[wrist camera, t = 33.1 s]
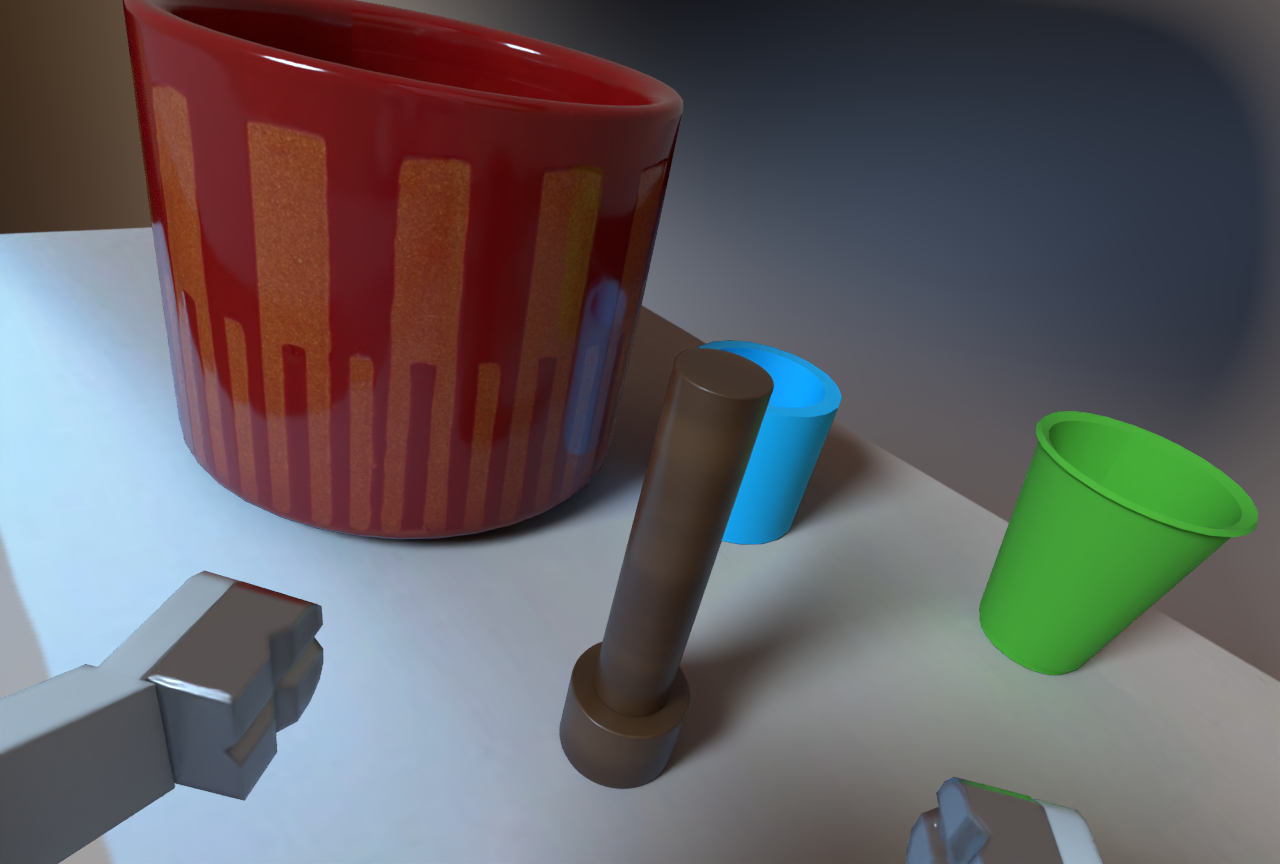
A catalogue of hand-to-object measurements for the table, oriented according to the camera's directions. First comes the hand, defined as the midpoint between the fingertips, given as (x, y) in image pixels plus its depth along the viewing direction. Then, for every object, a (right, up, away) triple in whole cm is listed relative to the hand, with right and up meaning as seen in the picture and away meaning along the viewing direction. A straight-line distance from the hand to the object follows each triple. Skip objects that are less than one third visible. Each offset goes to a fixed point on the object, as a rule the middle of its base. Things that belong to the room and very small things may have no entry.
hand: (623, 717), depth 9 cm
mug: (+7, 0, +35) cm, 36 cm away
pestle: (-1, -8, +19) cm, 21 cm away
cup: (+20, -7, +29) cm, 36 cm away
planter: (-13, +4, +34) cm, 37 cm away
